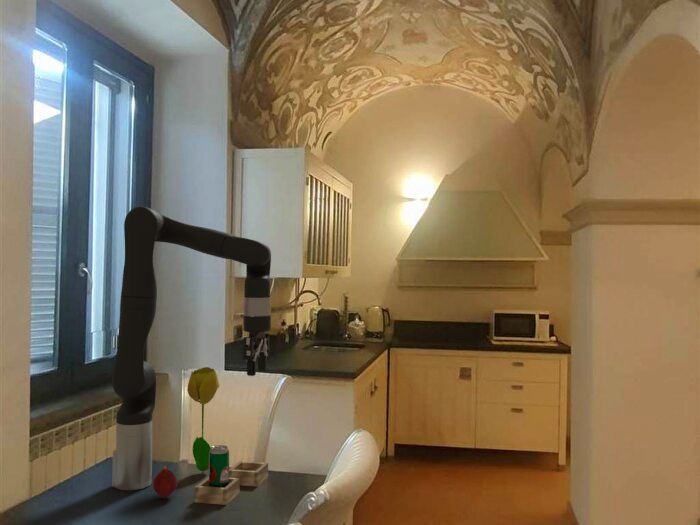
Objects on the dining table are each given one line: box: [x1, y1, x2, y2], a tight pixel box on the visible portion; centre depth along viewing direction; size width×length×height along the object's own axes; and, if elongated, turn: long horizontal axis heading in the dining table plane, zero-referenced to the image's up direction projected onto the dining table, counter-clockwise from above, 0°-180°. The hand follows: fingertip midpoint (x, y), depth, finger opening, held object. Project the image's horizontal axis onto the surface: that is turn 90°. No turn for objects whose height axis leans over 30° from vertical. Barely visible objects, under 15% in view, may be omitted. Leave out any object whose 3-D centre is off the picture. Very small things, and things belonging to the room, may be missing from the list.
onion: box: [152, 465, 178, 499], centre depth 156 cm, size 6×6×8 cm
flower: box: [187, 366, 220, 474], centre depth 176 cm, size 9×8×30 cm
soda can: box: [208, 444, 230, 488], centre depth 157 cm, size 5×5×12 cm
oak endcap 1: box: [194, 476, 241, 506], centre depth 157 cm, size 8×8×4 cm
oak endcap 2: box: [229, 460, 269, 487], centre depth 170 cm, size 8×8×4 cm
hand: (256, 373), depth 168 cm, fingers open, 8 cm apart
